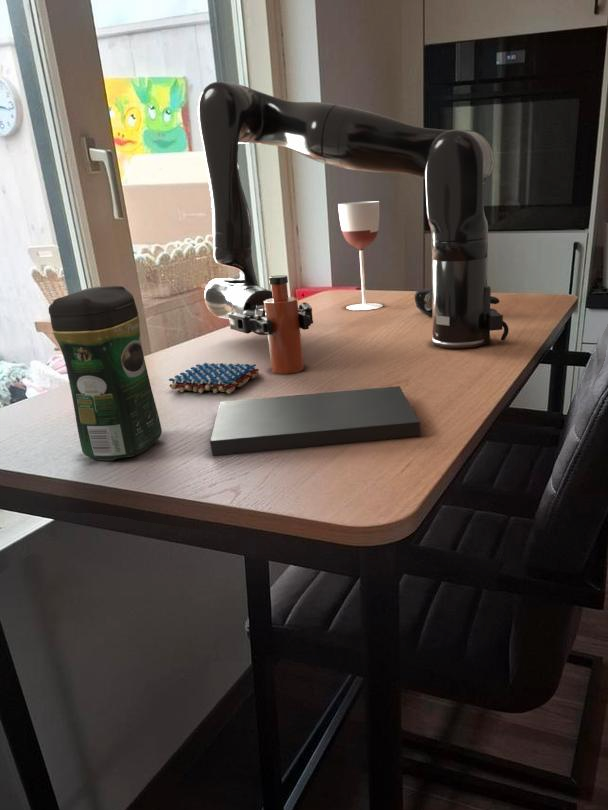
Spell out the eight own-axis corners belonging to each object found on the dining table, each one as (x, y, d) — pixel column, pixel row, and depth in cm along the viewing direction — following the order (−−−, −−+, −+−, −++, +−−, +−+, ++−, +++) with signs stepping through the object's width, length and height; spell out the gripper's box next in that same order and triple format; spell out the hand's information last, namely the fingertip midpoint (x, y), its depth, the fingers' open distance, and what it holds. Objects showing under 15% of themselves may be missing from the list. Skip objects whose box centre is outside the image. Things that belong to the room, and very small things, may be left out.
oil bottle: (303, 364, 115) (294, 272, 109) (304, 372, 110) (295, 277, 104) (271, 366, 114) (261, 275, 108) (271, 375, 110) (260, 280, 104)
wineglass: (389, 302, 162) (384, 200, 153) (376, 310, 154) (370, 203, 145) (353, 302, 165) (347, 202, 156) (339, 310, 156) (331, 205, 147)
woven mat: (232, 395, 101) (230, 381, 100) (167, 392, 104) (165, 379, 103) (262, 375, 110) (260, 362, 109) (202, 373, 113) (200, 361, 112)
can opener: (409, 317, 144) (409, 290, 142) (420, 311, 150) (419, 284, 148) (494, 319, 138) (495, 290, 136) (502, 312, 144) (503, 284, 141)
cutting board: (400, 398, 95) (399, 385, 94) (420, 436, 81) (420, 421, 80) (222, 414, 93) (220, 401, 92) (212, 455, 79) (209, 441, 79)
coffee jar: (114, 433, 89) (81, 282, 81) (172, 434, 87) (144, 280, 79) (70, 462, 80) (29, 297, 72) (133, 464, 78) (98, 295, 71)
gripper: (213, 292, 117) (239, 306, 103) (294, 282, 122) (330, 294, 108) (219, 336, 120) (246, 356, 106) (298, 325, 125) (333, 342, 111)
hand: (288, 325), depth 107 cm, fingers closed on oil bottle, 5 cm apart
